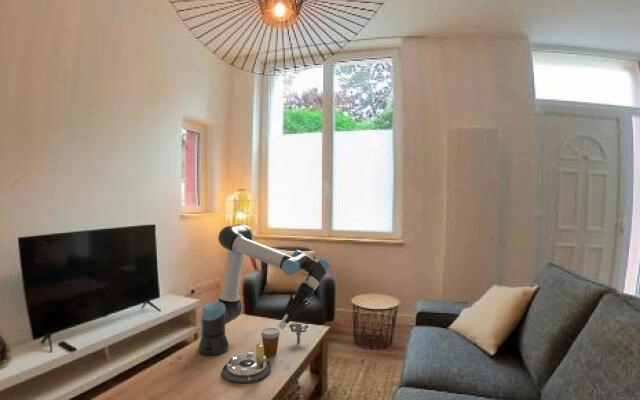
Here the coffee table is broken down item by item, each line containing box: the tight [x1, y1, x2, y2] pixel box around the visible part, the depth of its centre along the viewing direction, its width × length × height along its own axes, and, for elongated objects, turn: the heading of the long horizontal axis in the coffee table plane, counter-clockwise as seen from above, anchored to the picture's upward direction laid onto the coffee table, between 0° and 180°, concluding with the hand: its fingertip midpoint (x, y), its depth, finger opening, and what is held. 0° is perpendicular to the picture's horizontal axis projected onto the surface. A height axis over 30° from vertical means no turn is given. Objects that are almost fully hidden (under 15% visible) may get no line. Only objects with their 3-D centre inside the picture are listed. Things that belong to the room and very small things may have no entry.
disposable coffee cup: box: [260, 327, 281, 358], centre depth 191 cm, size 10×10×12 cm
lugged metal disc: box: [226, 343, 268, 377], centre depth 173 cm, size 18×18×12 cm
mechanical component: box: [288, 322, 309, 344], centre depth 206 cm, size 3×10×10 cm, turn 89°
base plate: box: [221, 360, 272, 385], centre depth 173 cm, size 22×22×2 cm
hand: (280, 327), depth 176 cm, fingers closed
